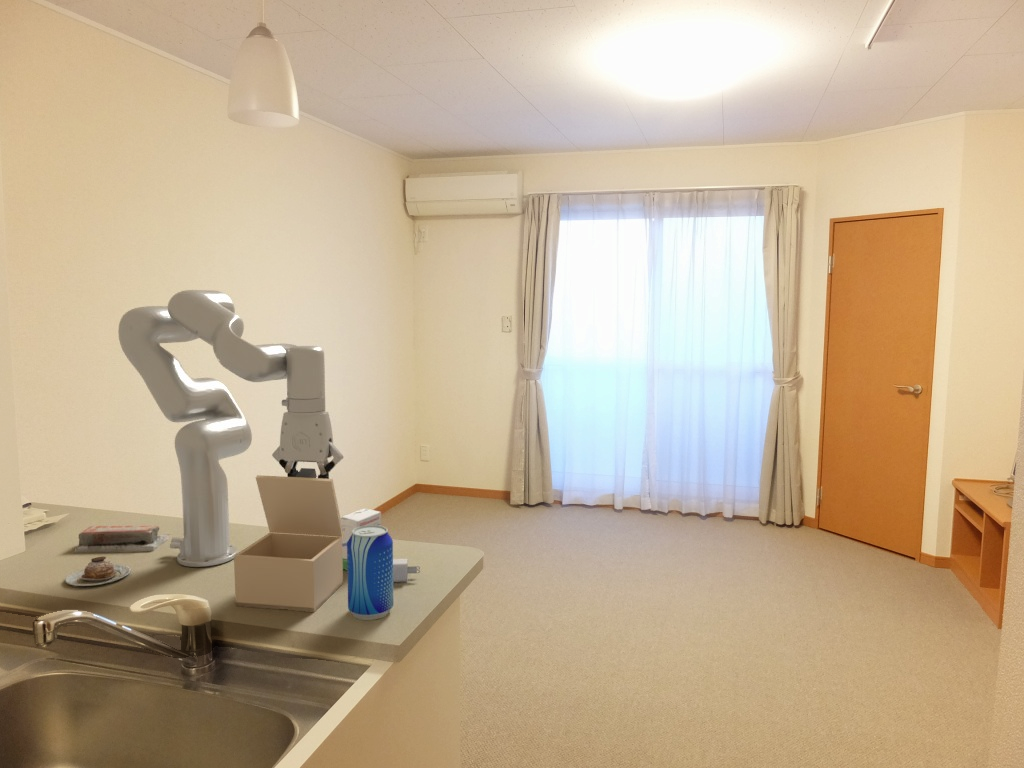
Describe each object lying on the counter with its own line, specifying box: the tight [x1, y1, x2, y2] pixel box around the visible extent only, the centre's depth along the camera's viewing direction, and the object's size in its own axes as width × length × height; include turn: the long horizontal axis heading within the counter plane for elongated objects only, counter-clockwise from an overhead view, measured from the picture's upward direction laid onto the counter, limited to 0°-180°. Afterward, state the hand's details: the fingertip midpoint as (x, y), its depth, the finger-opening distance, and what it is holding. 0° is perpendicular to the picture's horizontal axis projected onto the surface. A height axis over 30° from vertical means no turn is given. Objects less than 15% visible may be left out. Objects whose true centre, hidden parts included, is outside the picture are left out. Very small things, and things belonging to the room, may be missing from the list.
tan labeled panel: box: [255, 467, 344, 537], centre depth 149 cm, size 16×14×7 cm
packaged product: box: [74, 525, 170, 554], centre depth 171 cm, size 18×5×10 cm
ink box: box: [340, 508, 382, 571], centre depth 159 cm, size 8×5×12 cm, turn 152°
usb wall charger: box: [393, 558, 421, 583], centre depth 152 cm, size 4×7×4 cm, turn 97°
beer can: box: [346, 525, 394, 621], centre depth 135 cm, size 8×8×16 cm
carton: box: [233, 532, 344, 613], centre depth 143 cm, size 16×14×10 cm
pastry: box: [64, 556, 131, 588], centre depth 151 cm, size 12×12×5 cm
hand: (308, 490), depth 150 cm, fingers open, 5 cm apart
